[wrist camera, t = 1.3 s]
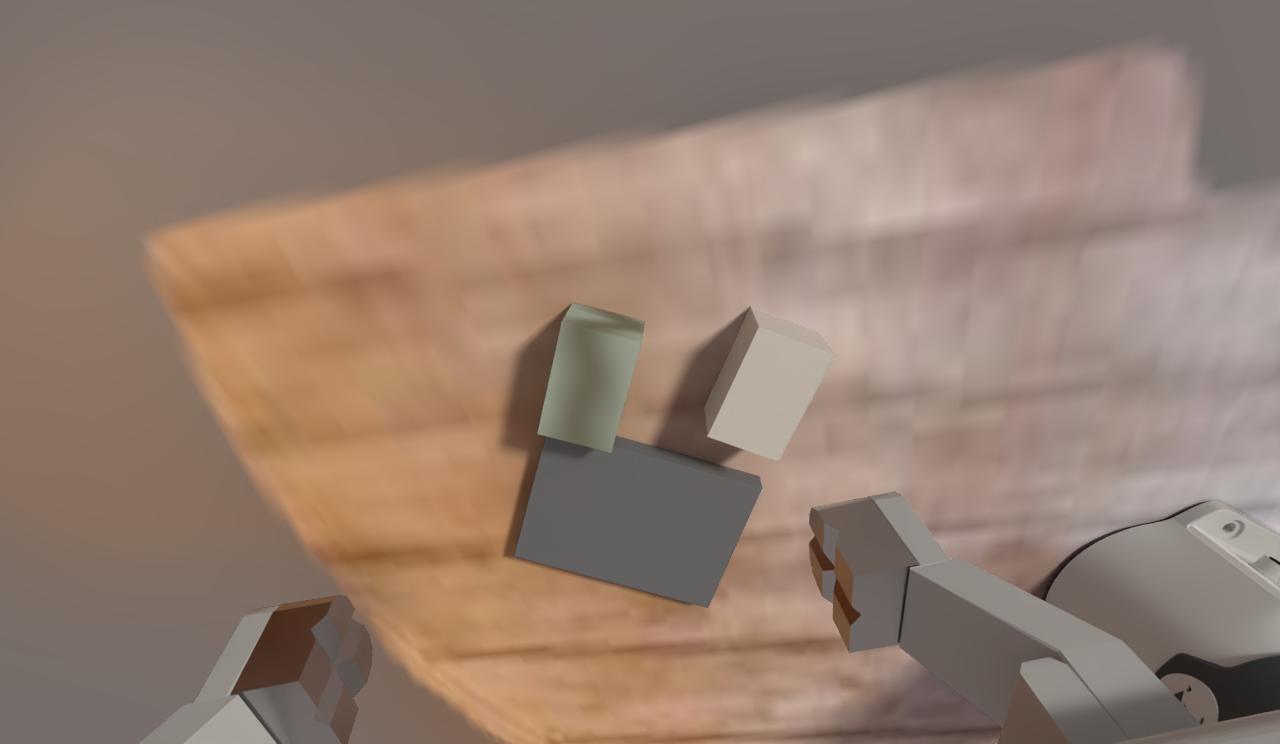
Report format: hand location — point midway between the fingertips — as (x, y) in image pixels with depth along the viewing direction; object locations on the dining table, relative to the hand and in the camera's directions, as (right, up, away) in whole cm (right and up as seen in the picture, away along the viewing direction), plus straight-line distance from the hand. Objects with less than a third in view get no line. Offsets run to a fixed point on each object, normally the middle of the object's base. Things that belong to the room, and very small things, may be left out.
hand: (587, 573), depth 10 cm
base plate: (+1, -7, +35) cm, 36 cm away
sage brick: (-2, +4, +31) cm, 31 cm away
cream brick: (+9, +4, +31) cm, 32 cm away
